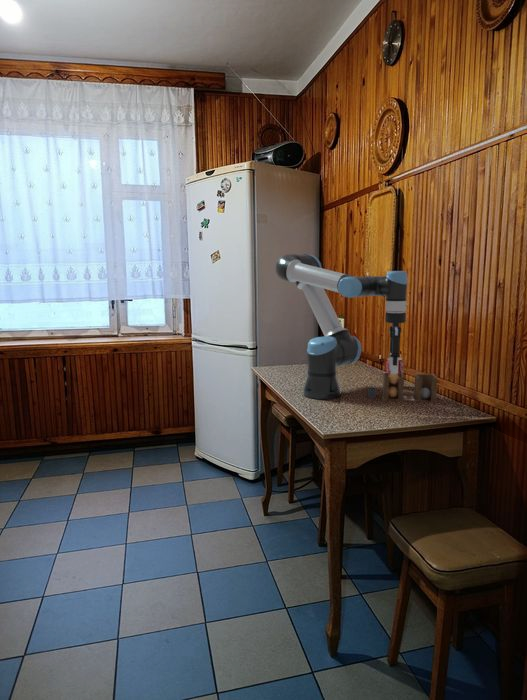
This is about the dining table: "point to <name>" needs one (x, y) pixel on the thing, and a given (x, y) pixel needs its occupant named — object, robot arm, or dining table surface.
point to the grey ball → (425, 393)
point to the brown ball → (393, 378)
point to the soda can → (400, 366)
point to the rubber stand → (371, 392)
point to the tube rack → (420, 382)
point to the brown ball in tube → (393, 392)
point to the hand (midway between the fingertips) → (393, 371)
